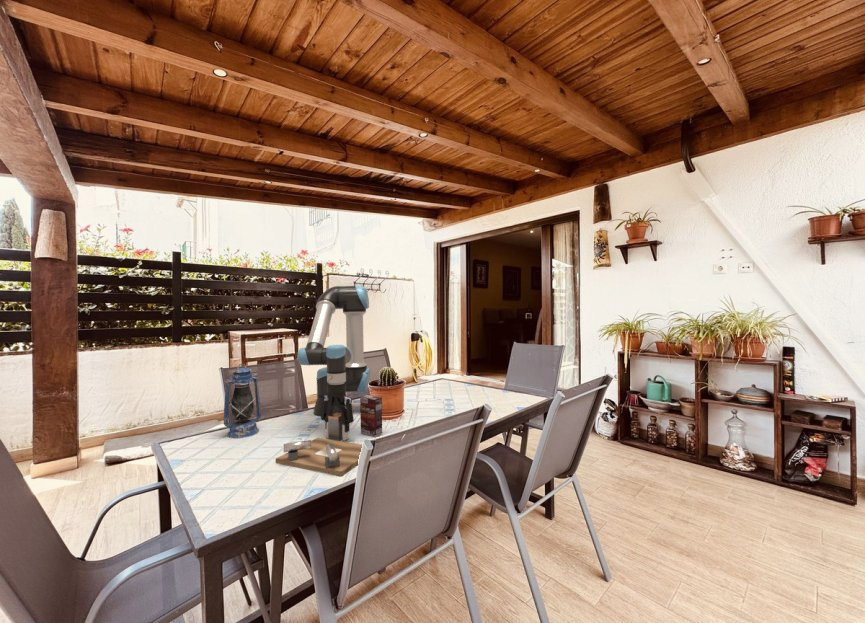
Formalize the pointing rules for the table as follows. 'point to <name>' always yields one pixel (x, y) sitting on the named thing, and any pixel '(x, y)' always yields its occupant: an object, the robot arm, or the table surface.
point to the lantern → (242, 404)
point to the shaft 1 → (296, 448)
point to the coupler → (335, 426)
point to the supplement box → (371, 415)
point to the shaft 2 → (331, 457)
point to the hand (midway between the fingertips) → (337, 438)
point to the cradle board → (317, 454)
